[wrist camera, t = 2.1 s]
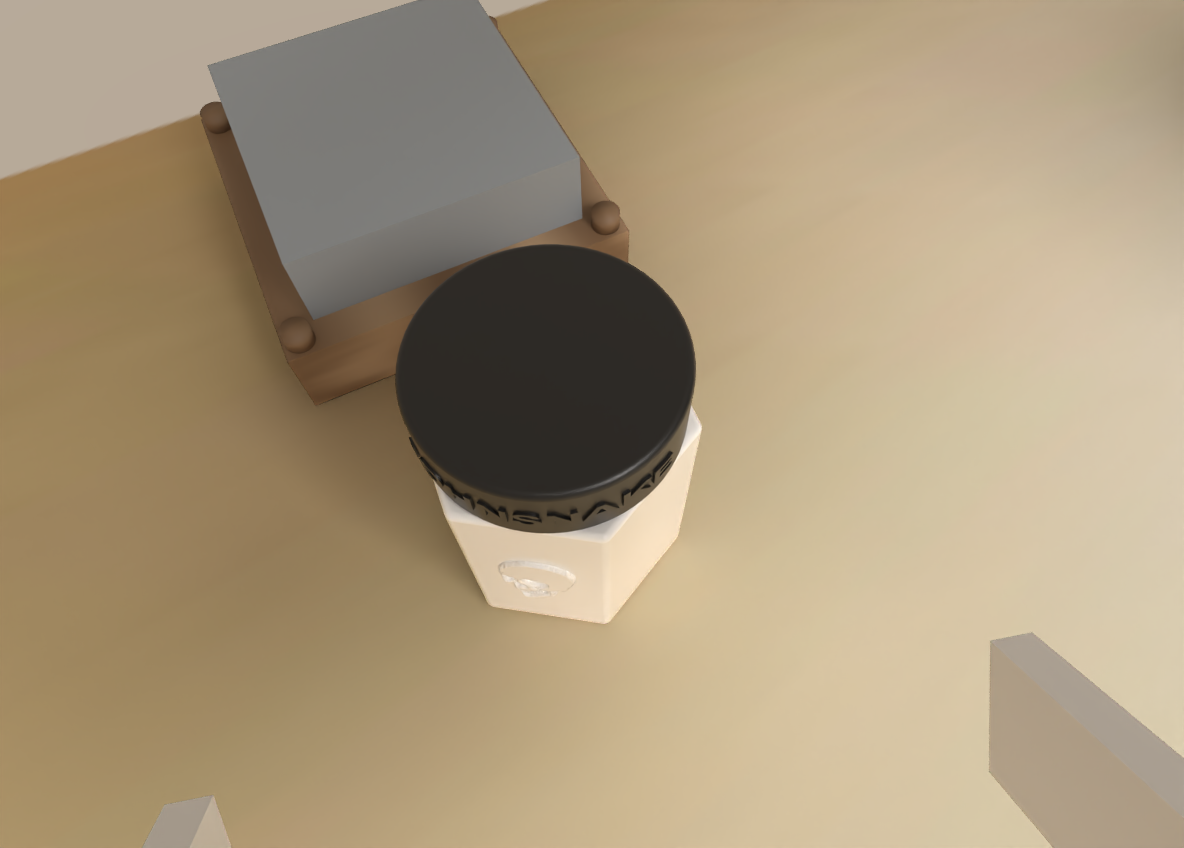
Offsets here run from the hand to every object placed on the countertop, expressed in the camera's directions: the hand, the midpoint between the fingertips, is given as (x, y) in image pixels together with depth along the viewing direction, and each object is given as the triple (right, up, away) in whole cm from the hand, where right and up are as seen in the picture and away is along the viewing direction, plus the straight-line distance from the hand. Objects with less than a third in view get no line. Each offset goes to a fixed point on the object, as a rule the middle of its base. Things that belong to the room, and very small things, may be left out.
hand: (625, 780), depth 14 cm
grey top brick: (-9, +17, +23) cm, 30 cm away
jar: (-2, +2, +19) cm, 19 cm away
